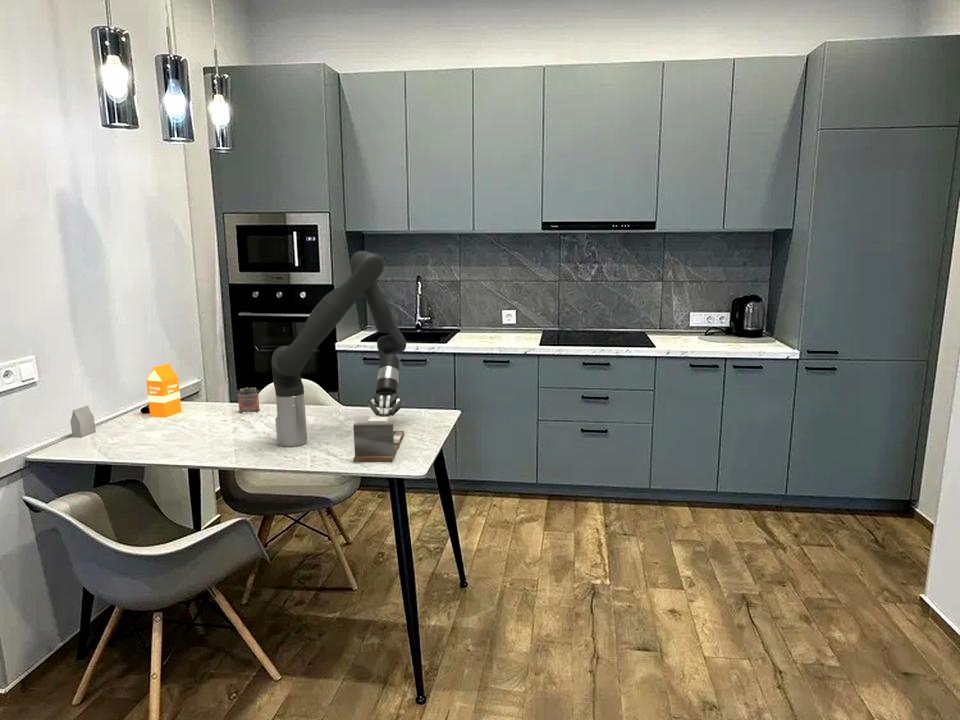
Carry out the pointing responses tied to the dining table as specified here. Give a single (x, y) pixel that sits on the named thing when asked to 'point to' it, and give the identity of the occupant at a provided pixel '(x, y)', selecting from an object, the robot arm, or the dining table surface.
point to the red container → (248, 400)
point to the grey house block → (82, 422)
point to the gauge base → (376, 441)
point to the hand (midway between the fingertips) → (383, 425)
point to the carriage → (379, 420)
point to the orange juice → (163, 392)
